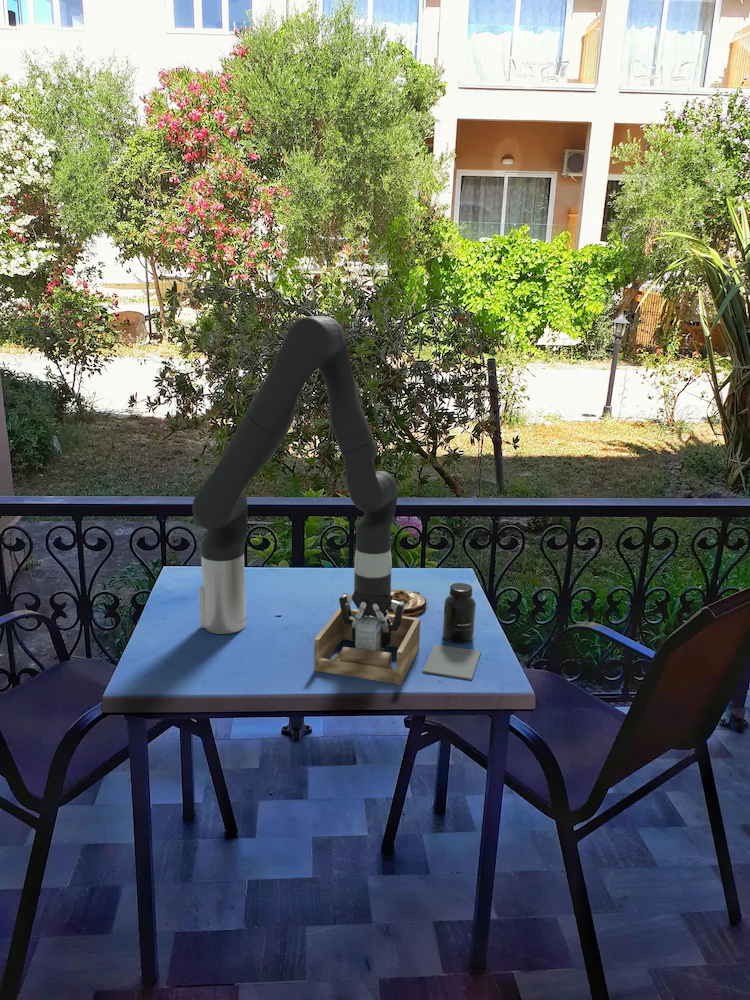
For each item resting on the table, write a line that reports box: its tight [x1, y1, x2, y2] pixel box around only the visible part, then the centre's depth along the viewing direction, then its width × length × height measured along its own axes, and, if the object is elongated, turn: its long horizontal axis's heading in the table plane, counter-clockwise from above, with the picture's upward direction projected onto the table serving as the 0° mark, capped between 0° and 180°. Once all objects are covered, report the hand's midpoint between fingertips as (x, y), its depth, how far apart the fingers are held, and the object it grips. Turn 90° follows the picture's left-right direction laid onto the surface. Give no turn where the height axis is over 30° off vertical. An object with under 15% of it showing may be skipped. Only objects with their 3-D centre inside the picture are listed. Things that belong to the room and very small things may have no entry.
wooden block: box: [331, 646, 393, 669], centre depth 162 cm, size 12×3×4 cm, turn 74°
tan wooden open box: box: [313, 606, 421, 685], centre depth 166 cm, size 18×16×7 cm
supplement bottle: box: [442, 582, 477, 644], centre depth 176 cm, size 7×7×12 cm
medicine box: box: [355, 616, 387, 652], centre depth 168 cm, size 8×4×9 cm, turn 162°
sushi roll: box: [387, 588, 428, 617], centre depth 192 cm, size 15×15×4 cm
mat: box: [422, 644, 482, 681], centre depth 166 cm, size 10×12×1 cm
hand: (371, 644), depth 168 cm, fingers open, 5 cm apart
